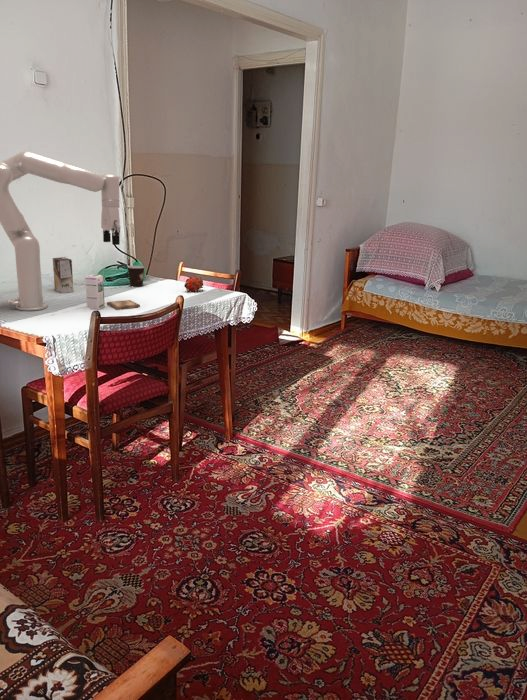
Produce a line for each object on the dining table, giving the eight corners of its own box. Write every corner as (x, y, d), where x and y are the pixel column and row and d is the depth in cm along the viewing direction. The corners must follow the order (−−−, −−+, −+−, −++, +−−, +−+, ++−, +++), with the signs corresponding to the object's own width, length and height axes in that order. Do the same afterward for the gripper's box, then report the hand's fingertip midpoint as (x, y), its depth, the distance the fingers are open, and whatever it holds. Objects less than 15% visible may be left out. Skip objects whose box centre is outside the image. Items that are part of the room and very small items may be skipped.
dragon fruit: (205, 293, 300) (186, 299, 293) (196, 281, 303) (177, 287, 295) (209, 282, 294) (190, 287, 286) (200, 270, 296) (181, 275, 289)
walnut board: (116, 309, 250) (116, 307, 250) (107, 304, 259) (106, 302, 258) (139, 307, 256) (139, 304, 256) (129, 302, 265) (129, 299, 264)
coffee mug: (139, 283, 309) (139, 265, 306) (147, 286, 302) (147, 267, 299) (120, 285, 302) (119, 266, 299) (127, 288, 295) (127, 269, 292)
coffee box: (74, 292, 282) (72, 259, 277) (61, 293, 278) (59, 260, 273) (66, 288, 288) (64, 256, 284) (54, 290, 284) (51, 257, 279)
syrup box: (98, 309, 249) (97, 276, 245) (86, 308, 250) (84, 275, 246) (104, 307, 254) (103, 274, 250) (92, 306, 255) (91, 273, 251)
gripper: (94, 202, 254) (95, 241, 259) (110, 205, 241) (111, 246, 246) (110, 202, 259) (111, 240, 264) (127, 205, 246) (127, 245, 251)
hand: (111, 243), depth 255 cm, fingers open, 9 cm apart
